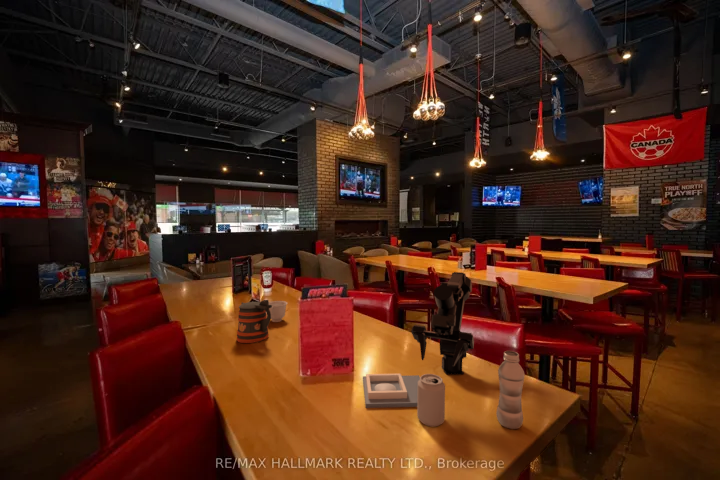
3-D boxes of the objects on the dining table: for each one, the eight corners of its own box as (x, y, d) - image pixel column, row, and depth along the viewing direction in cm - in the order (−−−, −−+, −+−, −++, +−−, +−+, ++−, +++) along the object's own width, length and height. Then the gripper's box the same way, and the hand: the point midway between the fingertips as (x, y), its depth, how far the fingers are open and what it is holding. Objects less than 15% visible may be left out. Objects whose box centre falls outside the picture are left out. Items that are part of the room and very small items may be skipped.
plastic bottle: (491, 418, 89) (493, 349, 88) (514, 417, 90) (516, 348, 89) (504, 433, 83) (505, 358, 82) (528, 432, 83) (530, 358, 82)
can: (445, 430, 84) (446, 386, 83) (416, 426, 85) (417, 383, 85) (443, 413, 91) (444, 373, 91) (417, 410, 93) (417, 370, 92)
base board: (418, 378, 112) (418, 369, 112) (431, 406, 95) (431, 396, 95) (362, 379, 111) (362, 370, 111) (365, 407, 94) (365, 397, 94)
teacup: (259, 324, 171) (259, 306, 171) (271, 317, 186) (271, 300, 185) (280, 326, 169) (280, 307, 169) (290, 318, 184) (290, 301, 183)
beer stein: (282, 336, 153) (281, 296, 152) (261, 347, 140) (260, 303, 139) (252, 331, 161) (251, 292, 160) (229, 340, 148) (229, 298, 147)
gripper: (413, 300, 102) (401, 345, 93) (473, 307, 94) (467, 357, 85) (419, 317, 110) (409, 360, 100) (476, 325, 101) (470, 373, 92)
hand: (437, 362), depth 94 cm, fingers open, 9 cm apart
